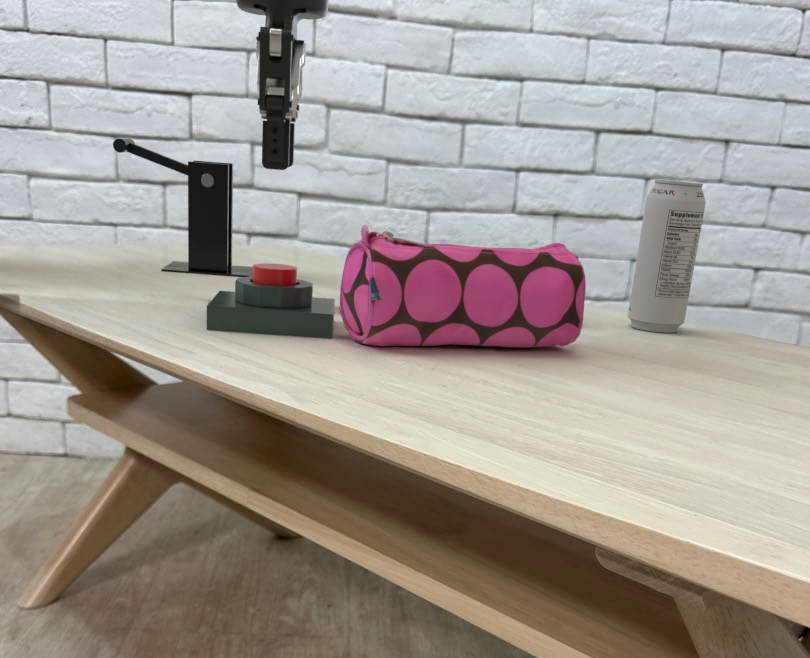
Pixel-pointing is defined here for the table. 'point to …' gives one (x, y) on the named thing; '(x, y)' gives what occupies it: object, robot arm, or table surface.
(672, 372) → the table surface
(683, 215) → the energy drink can
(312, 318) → the control box
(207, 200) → the switch bracket
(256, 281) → the button
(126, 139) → the switch lever
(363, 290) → the pencil case
